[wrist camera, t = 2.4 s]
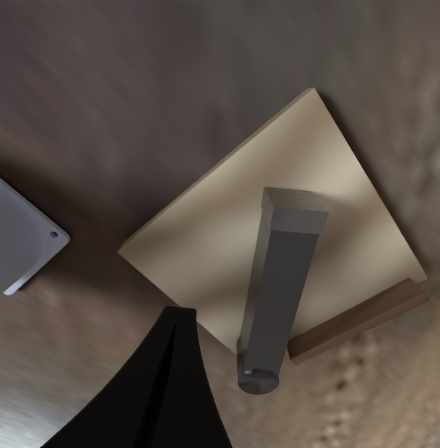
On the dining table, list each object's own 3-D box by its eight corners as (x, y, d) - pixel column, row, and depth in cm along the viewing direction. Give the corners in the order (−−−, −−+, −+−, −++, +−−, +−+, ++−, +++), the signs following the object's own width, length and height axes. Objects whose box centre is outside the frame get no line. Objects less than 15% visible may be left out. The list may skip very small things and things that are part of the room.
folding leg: (268, 356, 21) (275, 397, 18) (234, 353, 21) (235, 394, 18) (310, 191, 15) (331, 212, 12) (262, 186, 15) (271, 206, 12)
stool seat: (124, 241, 18) (107, 264, 15) (305, 89, 14) (325, 85, 11) (250, 353, 23) (254, 386, 20) (413, 265, 19) (445, 293, 16)
